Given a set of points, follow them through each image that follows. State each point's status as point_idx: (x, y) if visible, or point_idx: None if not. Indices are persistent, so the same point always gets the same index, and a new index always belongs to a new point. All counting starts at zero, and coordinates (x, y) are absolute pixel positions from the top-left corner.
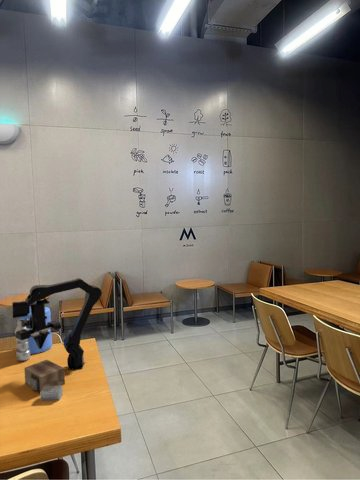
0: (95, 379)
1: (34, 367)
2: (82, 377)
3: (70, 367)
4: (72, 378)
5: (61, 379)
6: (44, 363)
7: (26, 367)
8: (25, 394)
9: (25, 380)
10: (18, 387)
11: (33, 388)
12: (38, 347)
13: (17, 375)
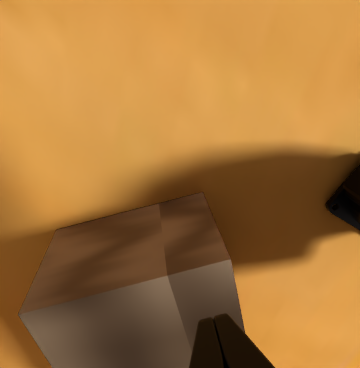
0: (345, 355)
1: (99, 346)
2: (321, 317)
3: (346, 202)
4: (284, 304)
5: None
6: (188, 320)
7: (36, 317)
8: None
9: (51, 246)
10: (13, 248)
11: None
12: (196, 339)
13: (5, 54)
